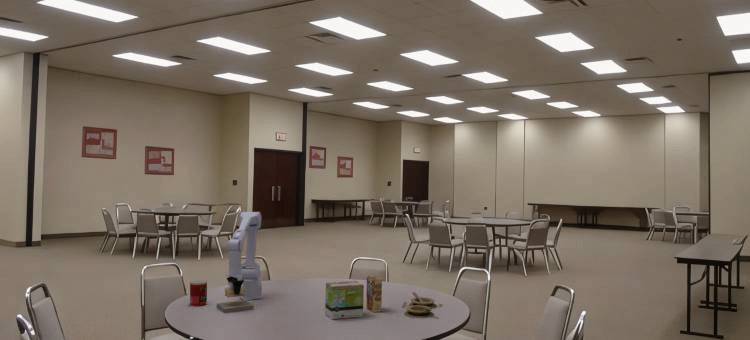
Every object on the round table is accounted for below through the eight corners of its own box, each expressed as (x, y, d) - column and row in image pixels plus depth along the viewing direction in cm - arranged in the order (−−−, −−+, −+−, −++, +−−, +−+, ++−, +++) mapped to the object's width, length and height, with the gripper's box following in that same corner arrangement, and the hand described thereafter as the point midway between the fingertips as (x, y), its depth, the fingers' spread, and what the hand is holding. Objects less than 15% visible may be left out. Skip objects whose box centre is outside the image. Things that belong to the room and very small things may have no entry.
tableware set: (404, 303, 283) (404, 291, 283) (443, 305, 280) (443, 293, 280) (396, 318, 254) (396, 305, 254) (440, 320, 251) (440, 307, 251)
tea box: (332, 320, 248) (332, 286, 248) (324, 314, 258) (325, 282, 258) (363, 316, 254) (364, 283, 254) (355, 311, 264) (355, 279, 264)
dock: (245, 304, 277) (245, 299, 277) (253, 309, 267) (253, 304, 267) (216, 307, 270) (216, 303, 270) (224, 313, 260) (224, 308, 260)
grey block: (238, 286, 271) (238, 281, 271) (240, 288, 268) (240, 282, 268) (229, 287, 269) (229, 282, 269) (231, 289, 266) (231, 283, 266)
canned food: (202, 306, 272) (202, 283, 272) (186, 305, 273) (186, 283, 273) (209, 303, 279) (210, 280, 279) (195, 302, 281) (195, 280, 281)
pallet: (241, 293, 273) (241, 286, 273) (244, 295, 268) (244, 287, 268) (225, 295, 268) (225, 287, 268) (228, 297, 264) (228, 289, 264)
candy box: (382, 311, 264) (382, 278, 264) (374, 312, 262) (374, 279, 262) (374, 307, 272) (374, 275, 272) (365, 308, 270) (366, 276, 270)
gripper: (222, 263, 272) (222, 291, 272) (231, 267, 260) (231, 297, 260) (236, 261, 276) (236, 289, 276) (246, 266, 264) (246, 295, 264)
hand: (235, 293), depth 268 cm, fingers closed on pallet, 5 cm apart
